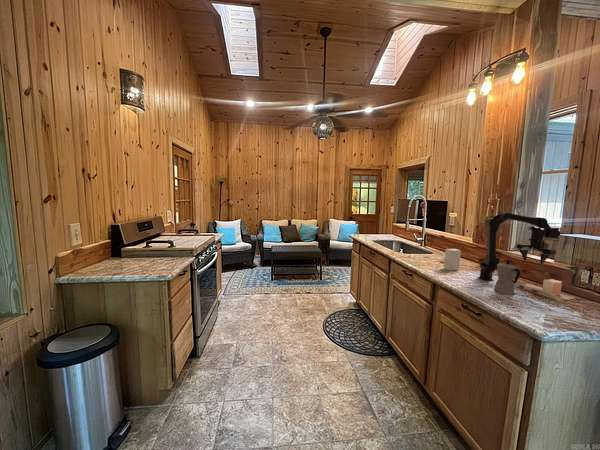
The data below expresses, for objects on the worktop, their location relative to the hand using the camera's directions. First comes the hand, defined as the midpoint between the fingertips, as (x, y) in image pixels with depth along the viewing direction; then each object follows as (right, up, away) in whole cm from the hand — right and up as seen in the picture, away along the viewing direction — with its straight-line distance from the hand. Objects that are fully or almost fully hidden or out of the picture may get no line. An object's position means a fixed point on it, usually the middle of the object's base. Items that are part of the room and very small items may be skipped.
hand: (533, 262), depth 165 cm
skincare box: (-35, -9, +28) cm, 46 cm away
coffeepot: (-30, -15, -17) cm, 37 cm away
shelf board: (-9, -15, -16) cm, 23 cm away
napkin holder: (-25, -8, +48) cm, 55 cm away
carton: (-6, -14, -18) cm, 24 cm away
